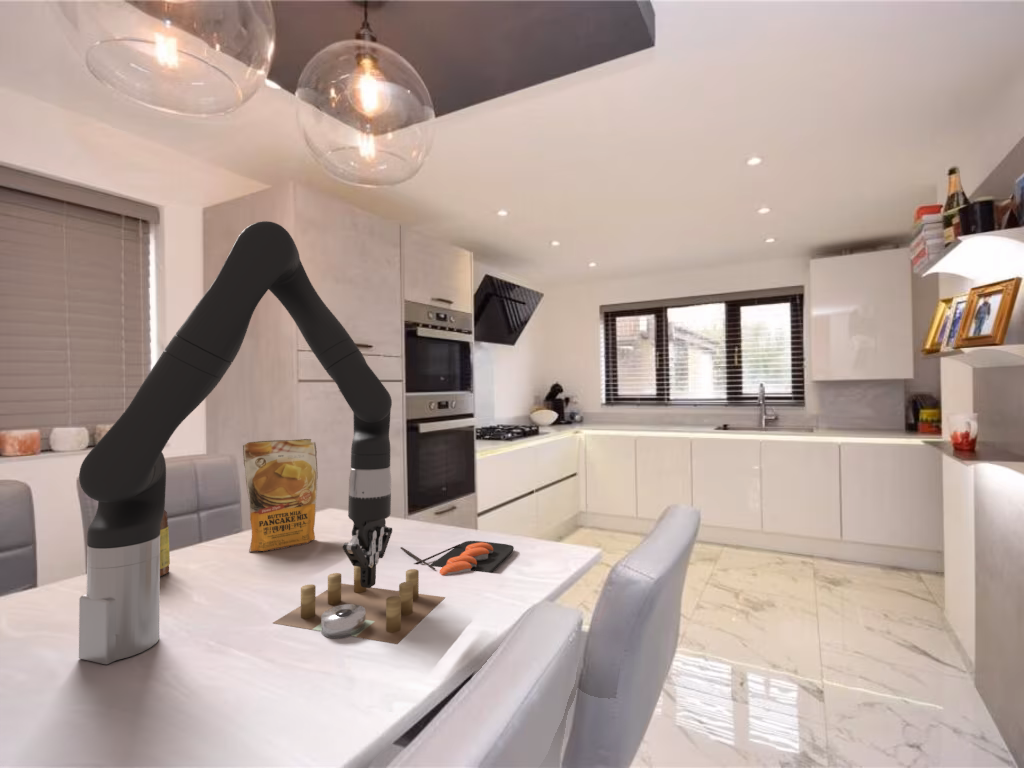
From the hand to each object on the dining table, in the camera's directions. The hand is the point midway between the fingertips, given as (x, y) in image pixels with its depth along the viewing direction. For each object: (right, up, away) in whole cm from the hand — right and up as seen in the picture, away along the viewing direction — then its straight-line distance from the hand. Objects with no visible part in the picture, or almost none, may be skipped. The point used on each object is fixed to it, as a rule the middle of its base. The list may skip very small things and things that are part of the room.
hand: (368, 585), depth 90 cm
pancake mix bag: (-35, -6, +40) cm, 54 cm away
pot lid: (-2, -4, -8) cm, 9 cm away
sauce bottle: (-54, -6, +19) cm, 57 cm away
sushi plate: (+9, -6, +27) cm, 29 cm away
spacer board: (0, -5, -1) cm, 5 cm away
